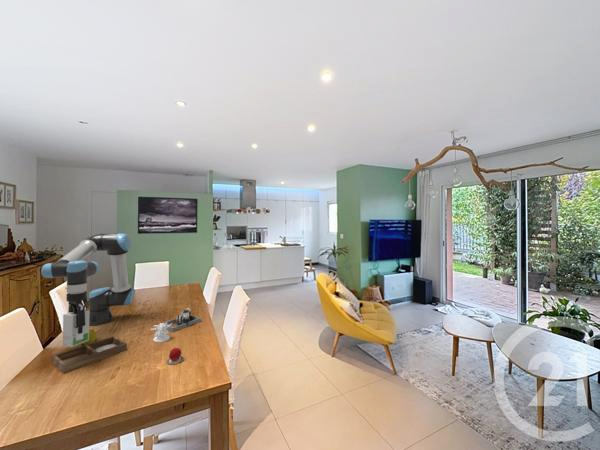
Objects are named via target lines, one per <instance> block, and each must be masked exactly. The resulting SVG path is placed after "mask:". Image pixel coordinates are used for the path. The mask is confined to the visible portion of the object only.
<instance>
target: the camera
mask: <svg viewBox="0 0 600 450" xmlns="http://www.w3.org/2000/svg"><path fill="white" fill-rule="evenodd" d="M190 315H192V311H191V308H189V307H187V308H185V309H183V310H182V311H181V314H178V315H177V316H176V318H177V322H176V325H181V324H184V323H187V327H189V326H188V322H189V321H191V319H190Z"/></svg>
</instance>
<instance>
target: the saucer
mask: <svg viewBox="0 0 600 450" xmlns="http://www.w3.org/2000/svg"><path fill="white" fill-rule="evenodd" d="M115 346H116V345H113V344H111V345H105V346H102V347H99V348H97V349H96V351H97V352H101V351H104V350H106V349H109V348H112V347H115Z"/></svg>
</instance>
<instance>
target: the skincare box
mask: <svg viewBox="0 0 600 450" xmlns="http://www.w3.org/2000/svg"><path fill="white" fill-rule="evenodd" d="M76 312H77V311H76ZM89 314H90V310H89V309H85V326H83V339H81V340H77V341H76V328H75V327H76V326H77V325H76V316H77V314H74V312H70V313H68V312H65V313H63V315H62V317H63V320H62V342H61V345H62V346H63V347H68V348H73V347H76V346H78V345H82V344H81V343H83V342H86V341H88V340H89V329H90V326H89Z"/></svg>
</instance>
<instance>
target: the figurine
mask: <svg viewBox="0 0 600 450" xmlns="http://www.w3.org/2000/svg"><path fill="white" fill-rule="evenodd" d="M172 325H173V324H170V325H167V323H165V324H164V322H160V323H159V324H155V325H153V328H150V330H151V331H155V332H154V333H153V335H154V338H153V339H152V341H153V342H155V343H156V344H162V343H165V342H167V341H169V340H170V338H171V337H170V335H169V333H170V331H169V330H166V329H167V328H168V327H170V326H171V327H172Z"/></svg>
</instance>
